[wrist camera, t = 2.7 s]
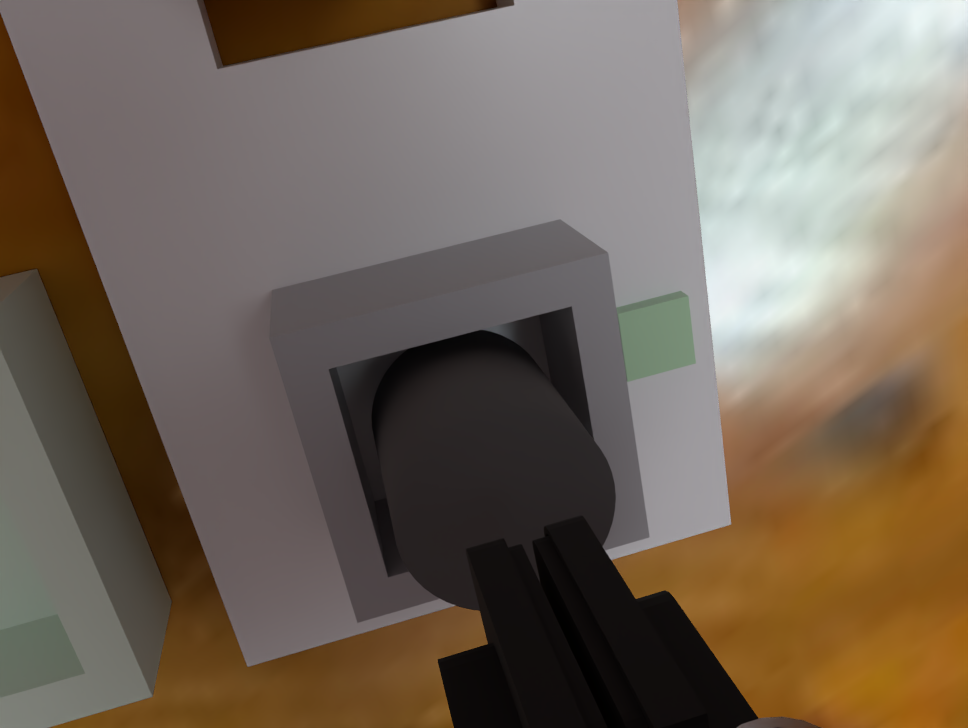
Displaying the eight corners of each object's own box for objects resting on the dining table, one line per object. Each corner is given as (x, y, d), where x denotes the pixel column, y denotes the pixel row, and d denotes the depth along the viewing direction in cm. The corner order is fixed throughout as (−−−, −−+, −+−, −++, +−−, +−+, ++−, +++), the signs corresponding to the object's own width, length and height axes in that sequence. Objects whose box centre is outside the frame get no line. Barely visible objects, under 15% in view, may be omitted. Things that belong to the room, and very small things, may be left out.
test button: (351, 355, 17) (369, 445, 13) (532, 308, 17) (599, 383, 14) (395, 514, 18) (422, 637, 15) (562, 468, 19) (629, 575, 15)
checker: (-143, -439, 14) (-325, -636, 10) (585, -543, 15) (696, -753, 11) (250, 627, 22) (241, 765, 18) (705, 495, 23) (794, 595, 19)
